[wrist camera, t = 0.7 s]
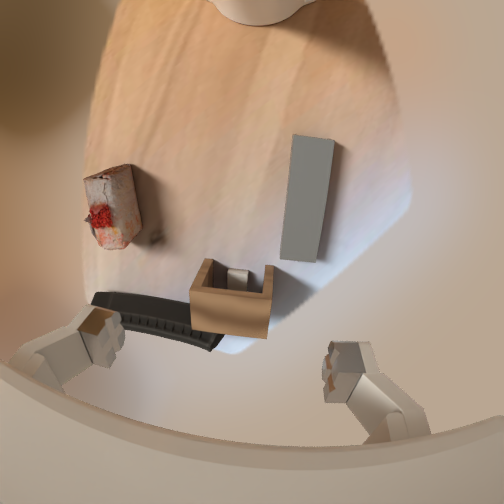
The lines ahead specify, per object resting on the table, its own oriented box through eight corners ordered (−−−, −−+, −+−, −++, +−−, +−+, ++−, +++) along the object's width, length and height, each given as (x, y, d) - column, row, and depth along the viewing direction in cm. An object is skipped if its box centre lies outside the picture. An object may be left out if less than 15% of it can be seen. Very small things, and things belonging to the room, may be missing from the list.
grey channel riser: (292, 134, 40) (293, 135, 38) (330, 139, 40) (334, 140, 37) (279, 251, 49) (279, 259, 47) (313, 254, 49) (315, 262, 46)
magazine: (240, 342, 48) (76, 341, 41) (239, 354, 49) (81, 353, 43) (227, 287, 63) (96, 287, 56) (226, 299, 64) (99, 299, 57)
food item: (149, 233, 50) (125, 257, 42) (115, 235, 51) (88, 258, 42) (135, 161, 44) (105, 173, 36) (100, 168, 45) (68, 181, 37)
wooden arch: (205, 258, 51) (189, 290, 42) (273, 265, 51) (272, 300, 41) (205, 294, 55) (191, 329, 46) (269, 301, 54) (266, 339, 45)
